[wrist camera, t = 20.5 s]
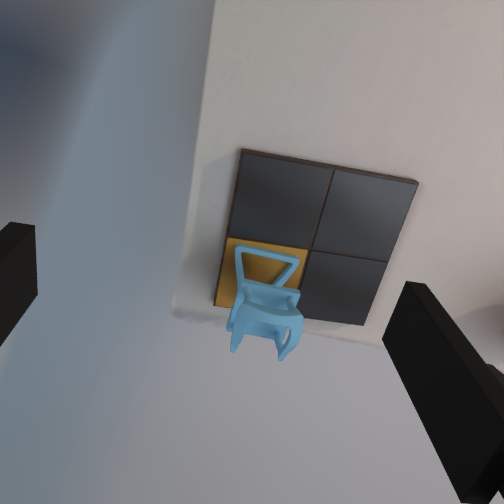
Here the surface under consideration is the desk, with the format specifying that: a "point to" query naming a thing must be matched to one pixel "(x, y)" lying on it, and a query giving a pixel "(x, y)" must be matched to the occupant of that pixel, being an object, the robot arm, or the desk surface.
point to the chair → (266, 305)
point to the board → (314, 232)
